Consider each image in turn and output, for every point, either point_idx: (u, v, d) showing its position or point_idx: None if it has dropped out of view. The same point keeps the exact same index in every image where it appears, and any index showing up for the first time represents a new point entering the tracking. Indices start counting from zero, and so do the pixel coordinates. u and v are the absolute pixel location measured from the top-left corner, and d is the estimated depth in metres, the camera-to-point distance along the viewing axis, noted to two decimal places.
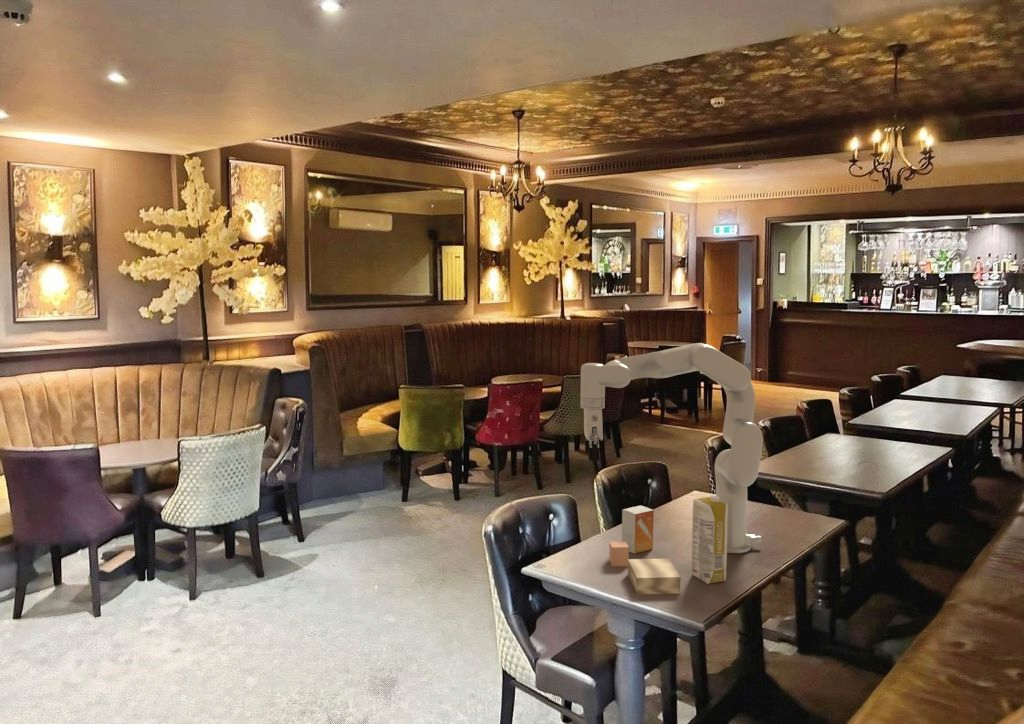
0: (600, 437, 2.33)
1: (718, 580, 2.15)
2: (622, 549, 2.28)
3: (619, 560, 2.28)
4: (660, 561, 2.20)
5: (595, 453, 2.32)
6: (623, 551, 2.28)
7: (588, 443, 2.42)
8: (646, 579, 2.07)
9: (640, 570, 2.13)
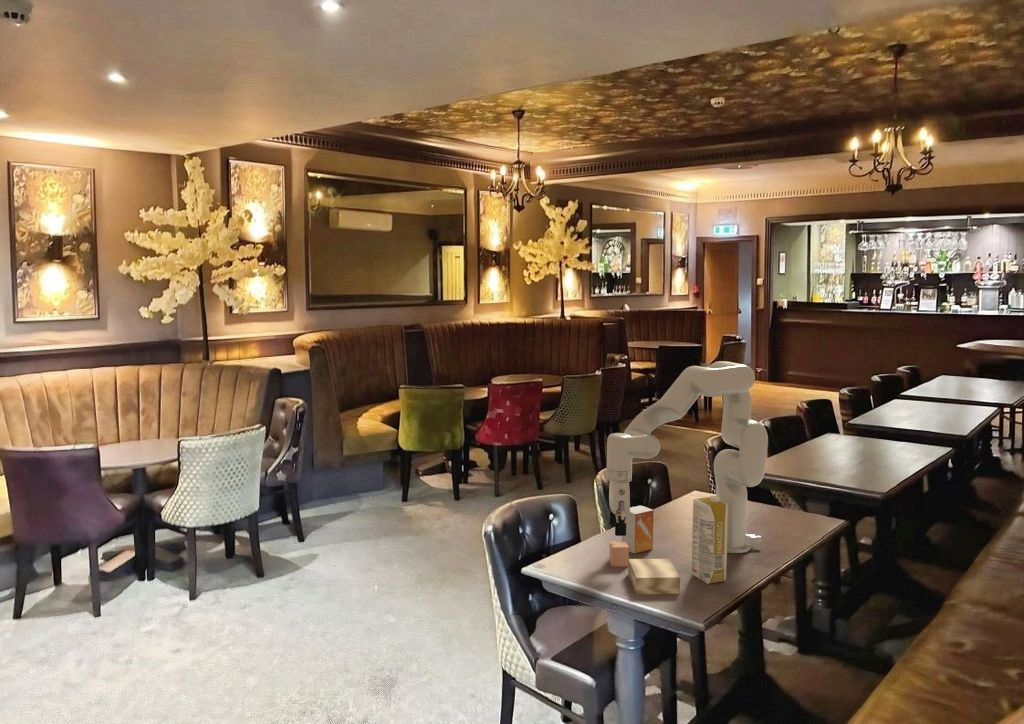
0: (627, 511, 2.24)
1: (718, 580, 2.15)
2: (622, 550, 2.28)
3: (619, 560, 2.28)
4: (660, 561, 2.19)
5: (622, 528, 2.23)
6: (623, 551, 2.28)
7: (613, 515, 2.33)
8: (645, 579, 2.07)
9: (640, 570, 2.13)
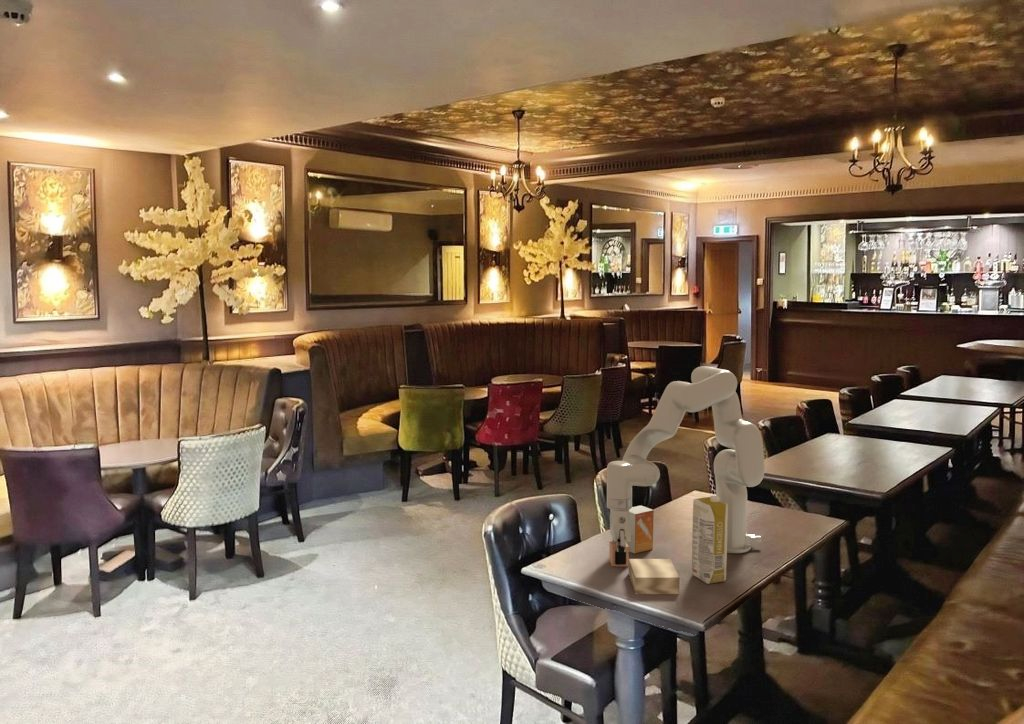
0: (628, 539, 2.25)
1: (718, 580, 2.15)
2: None
3: None
4: (661, 561, 2.19)
5: (622, 557, 2.26)
6: None
7: None
8: (645, 579, 2.08)
9: (640, 570, 2.13)
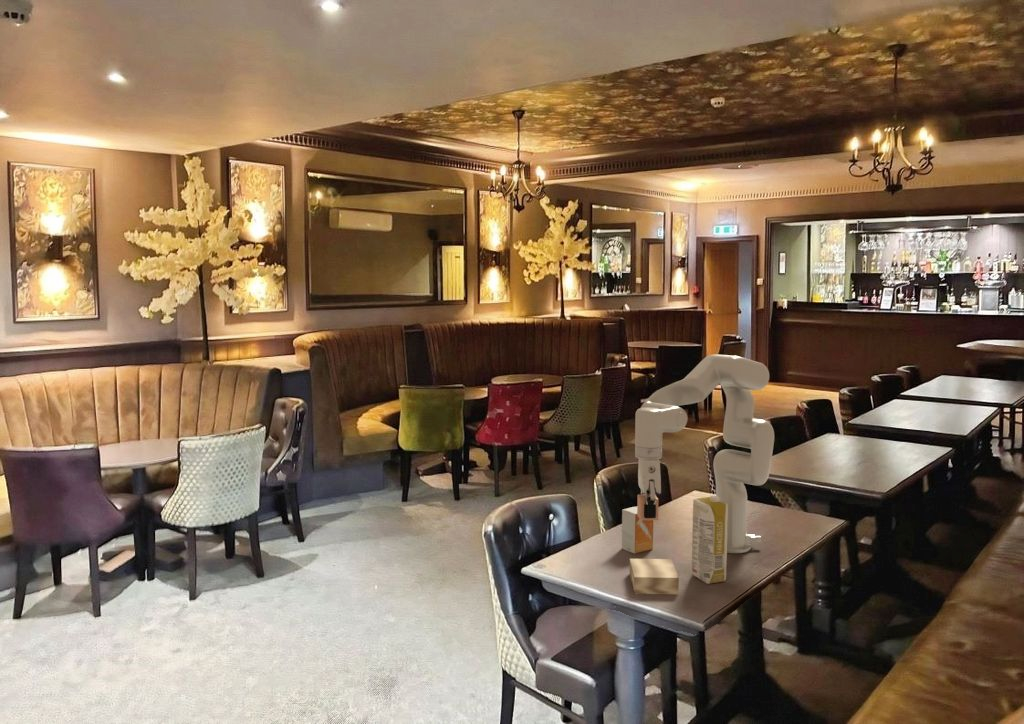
0: (658, 491, 2.10)
1: (718, 580, 2.15)
2: None
3: None
4: (662, 561, 2.19)
5: (651, 510, 2.11)
6: None
7: None
8: (644, 579, 2.08)
9: (639, 569, 2.13)
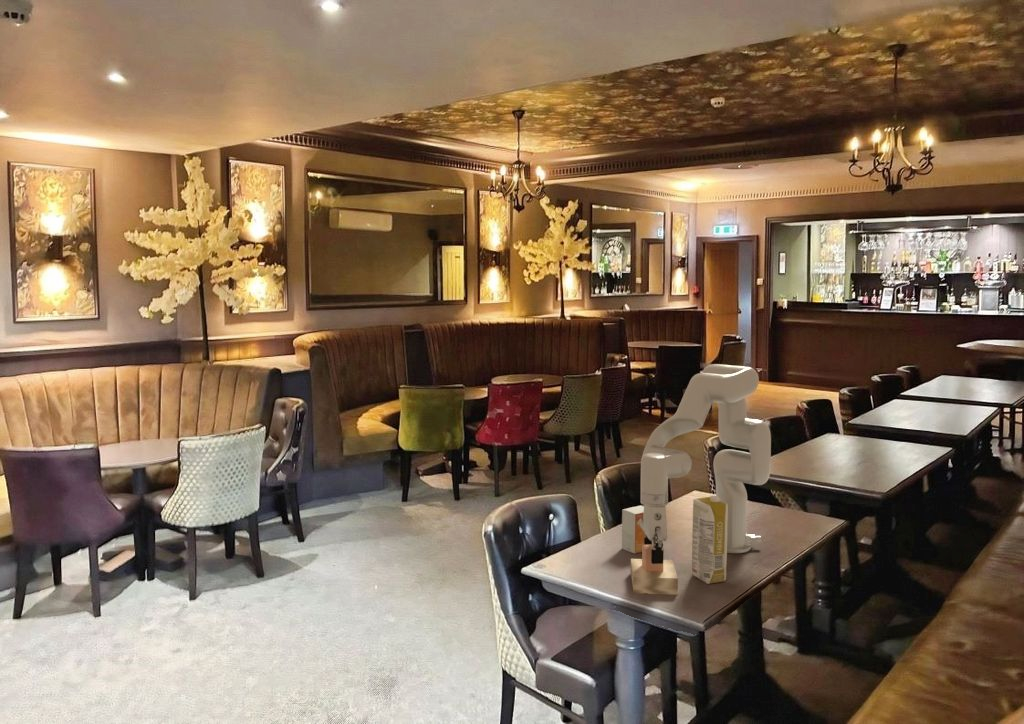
0: (664, 538, 2.08)
1: (718, 580, 2.15)
2: None
3: (653, 565, 2.12)
4: None
5: (659, 556, 2.08)
6: None
7: (648, 540, 2.18)
8: (643, 579, 2.08)
9: (639, 569, 2.13)
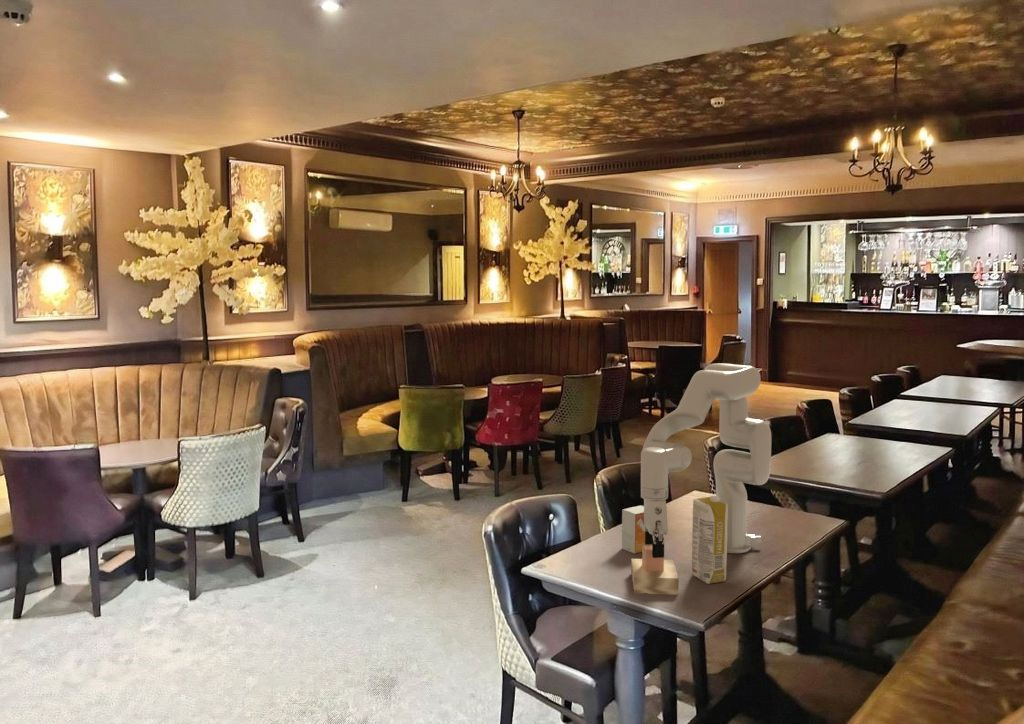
0: (665, 532, 2.08)
1: (718, 580, 2.15)
2: None
3: (654, 564, 2.12)
4: None
5: (660, 550, 2.08)
6: None
7: (648, 534, 2.18)
8: (643, 579, 2.08)
9: (640, 569, 2.13)
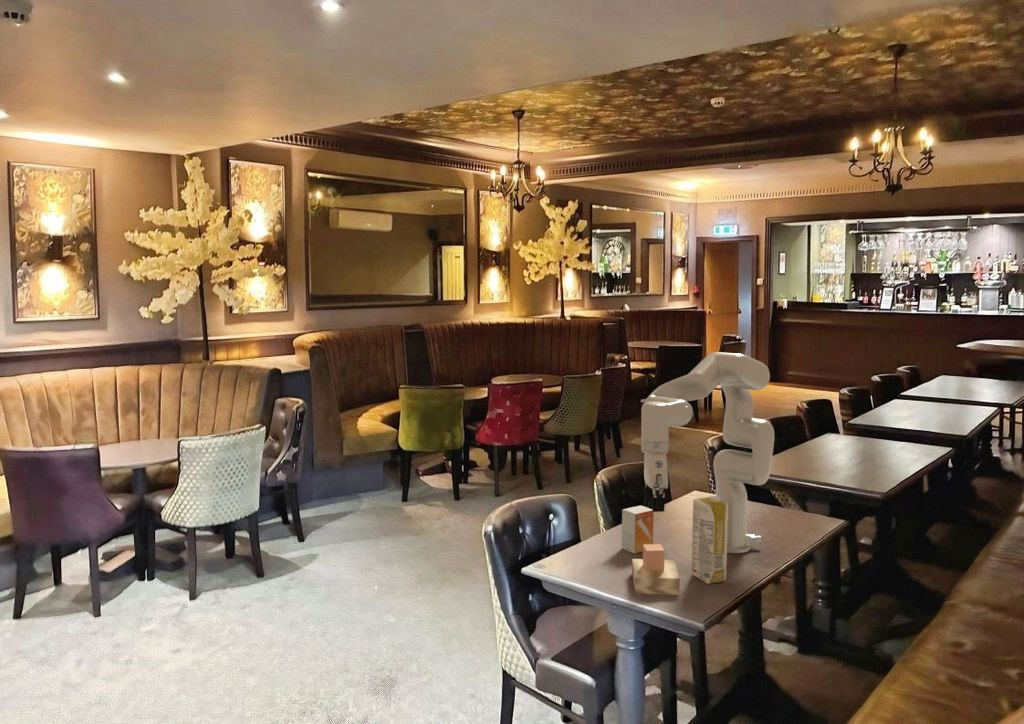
0: (665, 485, 2.07)
1: (718, 580, 2.15)
2: (658, 553, 2.11)
3: (654, 565, 2.12)
4: (664, 562, 2.19)
5: (660, 503, 2.07)
6: (658, 555, 2.12)
7: (649, 490, 2.17)
8: (644, 579, 2.08)
9: (641, 570, 2.13)
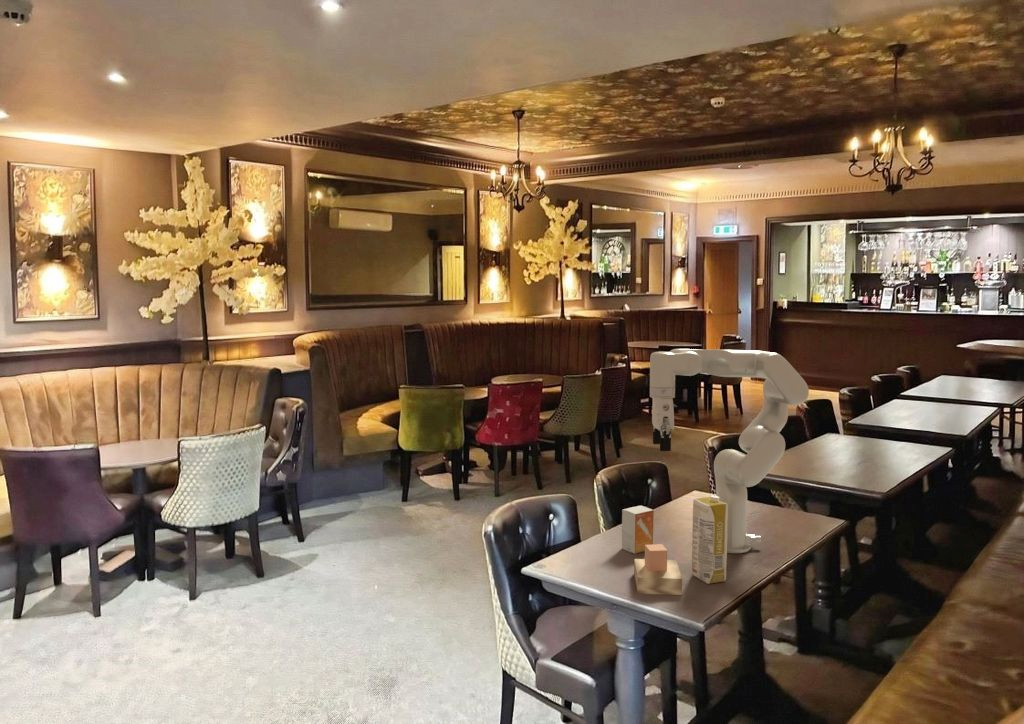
0: (671, 427, 2.28)
1: (718, 580, 2.15)
2: (661, 553, 2.12)
3: (657, 565, 2.12)
4: None
5: (667, 443, 2.27)
6: (661, 555, 2.12)
7: (656, 434, 2.37)
8: (647, 579, 2.08)
9: (643, 570, 2.13)
